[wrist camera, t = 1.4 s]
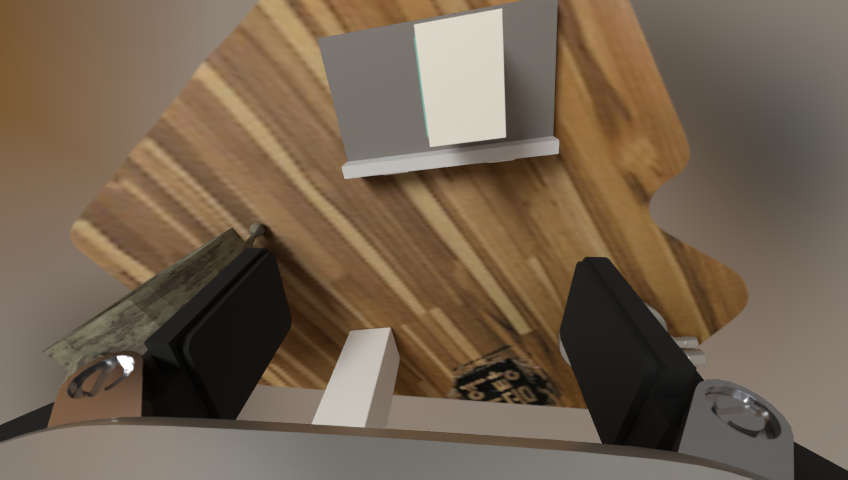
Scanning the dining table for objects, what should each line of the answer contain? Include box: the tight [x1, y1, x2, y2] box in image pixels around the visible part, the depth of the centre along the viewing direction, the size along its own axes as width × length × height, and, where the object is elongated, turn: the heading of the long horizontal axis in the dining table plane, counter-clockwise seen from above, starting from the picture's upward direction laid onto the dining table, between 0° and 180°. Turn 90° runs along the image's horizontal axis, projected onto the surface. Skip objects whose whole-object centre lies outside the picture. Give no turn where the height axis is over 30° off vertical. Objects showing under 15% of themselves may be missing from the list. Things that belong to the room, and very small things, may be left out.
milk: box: [312, 327, 400, 429], centre depth 37 cm, size 6×6×22 cm
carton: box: [414, 8, 506, 147], centre depth 25 cm, size 7×5×10 cm
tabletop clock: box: [43, 223, 265, 382], centre depth 31 cm, size 14×9×25 cm, turn 120°
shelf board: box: [318, 0, 559, 179], centre depth 30 cm, size 20×12×4 cm, turn 98°
